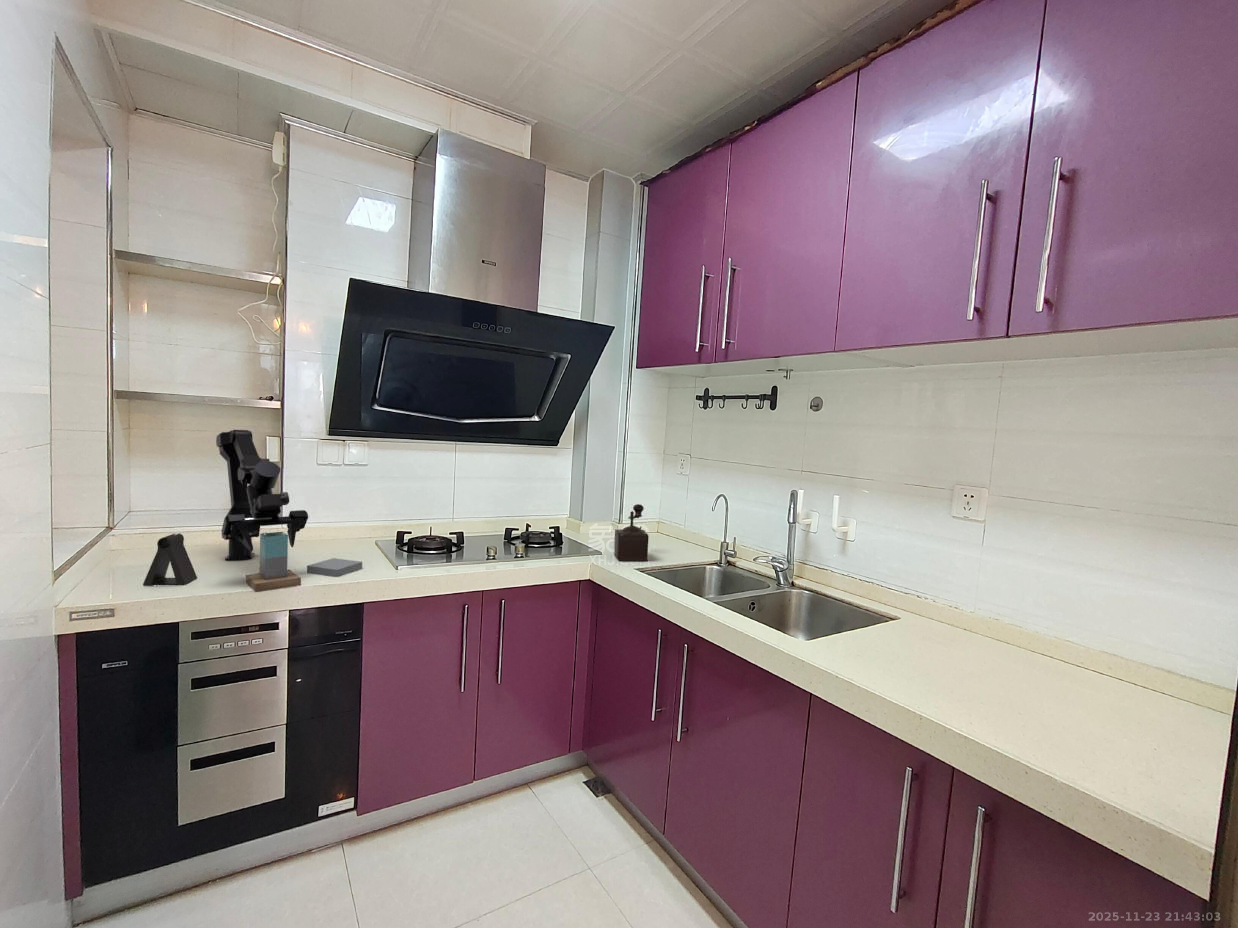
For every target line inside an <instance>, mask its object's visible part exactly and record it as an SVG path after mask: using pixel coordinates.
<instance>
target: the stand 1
mask: <svg viewBox="0 0 1238 928" xmlns="http://www.w3.org/2000/svg"><path fill="white" fill-rule="evenodd" d="M245 583H246V584H247V585H248V587H250V588H251V589H252V590H253V591H254V592H255V593H257V592H264V591H272V590H279V589H283V588H284V587H285V588H290V587H291V586H292V587H298V586H297V585H299V586H301V585H302V577H301V576H300V575H298V574H296V572H294V571H292V570H291V569H288V568H287V577H283V578H276V579H269V580H264V579H263V578H262V577H261V576H260V572H259V573H258V572H257V573H253V574H252V573H250V574H245ZM285 588H284V589H285Z"/></svg>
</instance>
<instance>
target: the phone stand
mask: <svg viewBox="0 0 1238 928" xmlns="http://www.w3.org/2000/svg"><path fill="white" fill-rule="evenodd" d="M184 541H185V538H184V535H183V534H182V533H180V532H179V533H173V534H169V535H167V536H163V537H161V538H159V539H158V540H157V542H156V543H157V544H156V545H157V551H156V553H155V555H154V557H153V560H152V562H151V564H150V567H149V569H148V572H147V574H146V577H145V579H144V580H143V583H142V585H143V587H150V586H151V587H156V586H157V585H164V586H165V585H175V586H186V585H187V584H189V583H191V582H193V581H195V580H196V579H197V578H198V575H197V573H196V571H195V569H194V567H193V564H192V561H191V560H190V557H189V554H188V552H187V550H186V547H185V545H184ZM169 566H171V569H172V572H173V576H174V577H166V575H167V572H168V569H169ZM154 585H156V586H154ZM157 587H158V586H157Z"/></svg>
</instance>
